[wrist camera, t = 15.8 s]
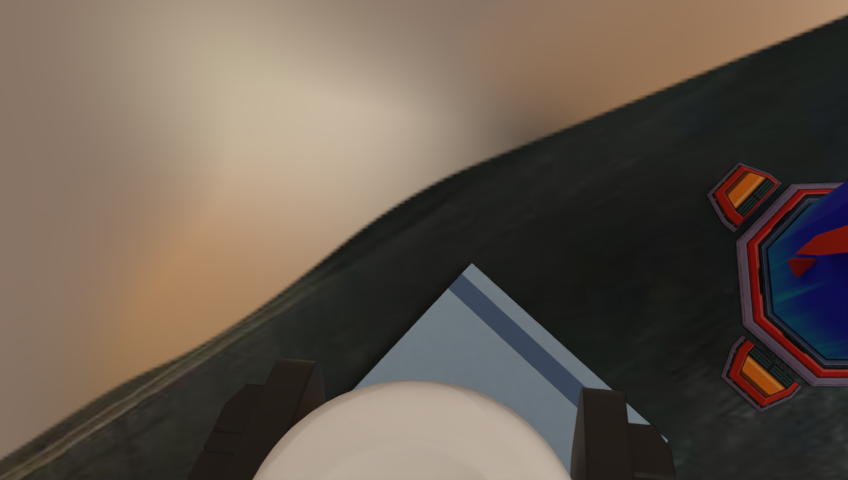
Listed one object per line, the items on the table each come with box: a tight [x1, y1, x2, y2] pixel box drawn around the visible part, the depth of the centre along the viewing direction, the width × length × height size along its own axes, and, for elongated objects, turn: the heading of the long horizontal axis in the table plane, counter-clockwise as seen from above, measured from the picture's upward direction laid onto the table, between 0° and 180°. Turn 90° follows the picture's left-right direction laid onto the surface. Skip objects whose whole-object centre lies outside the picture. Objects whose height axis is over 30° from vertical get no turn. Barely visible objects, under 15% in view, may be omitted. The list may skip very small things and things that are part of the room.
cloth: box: [352, 264, 668, 476], centre depth 35 cm, size 12×12×1 cm
